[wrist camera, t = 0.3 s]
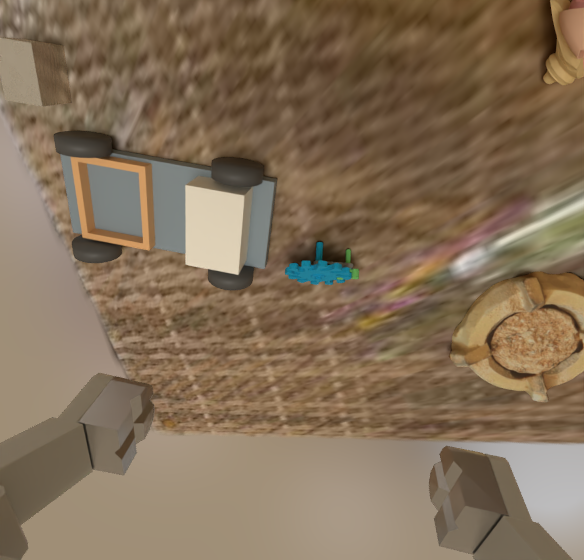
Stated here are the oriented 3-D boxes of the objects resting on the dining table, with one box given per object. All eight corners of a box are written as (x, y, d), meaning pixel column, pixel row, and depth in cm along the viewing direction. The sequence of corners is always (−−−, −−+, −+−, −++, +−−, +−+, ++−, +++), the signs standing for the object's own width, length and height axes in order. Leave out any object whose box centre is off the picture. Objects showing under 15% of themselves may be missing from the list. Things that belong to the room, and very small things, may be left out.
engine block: (28, 39, 51) (-9, 36, 45) (64, 45, 50) (31, 42, 45) (38, 96, 54) (5, 100, 49) (72, 102, 54) (42, 106, 49)
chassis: (65, 127, 56) (30, 134, 50) (278, 164, 54) (269, 177, 48) (82, 238, 65) (54, 256, 58) (265, 273, 63) (256, 295, 57)
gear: (283, 285, 62) (286, 267, 52) (286, 251, 63) (289, 227, 54) (350, 290, 62) (366, 274, 52) (351, 256, 64) (366, 234, 54)
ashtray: (492, 405, 70) (501, 427, 66) (423, 318, 63) (428, 336, 59) (636, 349, 61) (658, 371, 56) (573, 239, 54) (592, 254, 49)
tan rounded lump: (577, 100, 46) (540, 109, 41) (534, 33, 47) (493, 34, 42) (674, 34, 38) (641, 35, 33) (619, -45, 39) (580, -54, 34)
